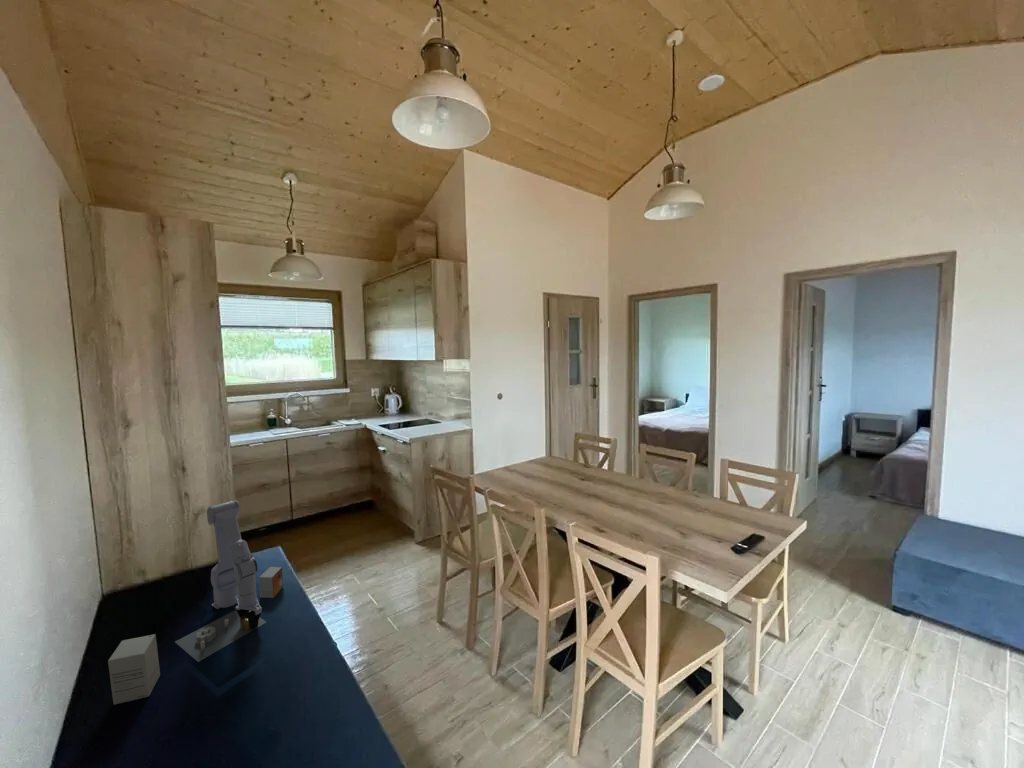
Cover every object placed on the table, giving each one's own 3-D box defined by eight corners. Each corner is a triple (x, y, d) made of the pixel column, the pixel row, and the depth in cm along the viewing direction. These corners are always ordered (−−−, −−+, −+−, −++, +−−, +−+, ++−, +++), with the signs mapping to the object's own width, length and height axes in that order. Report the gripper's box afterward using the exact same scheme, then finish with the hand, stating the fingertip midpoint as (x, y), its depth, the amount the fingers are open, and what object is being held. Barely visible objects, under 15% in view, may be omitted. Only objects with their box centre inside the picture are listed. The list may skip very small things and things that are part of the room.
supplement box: (126, 682, 137) (121, 639, 134) (161, 674, 140) (156, 632, 138) (111, 705, 128) (106, 660, 126) (149, 697, 131) (144, 653, 129)
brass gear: (237, 627, 160) (236, 617, 159) (253, 618, 165) (252, 608, 164) (245, 632, 157) (245, 622, 156) (261, 623, 162) (260, 614, 161)
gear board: (174, 645, 152) (173, 634, 151) (242, 609, 172) (242, 599, 171) (198, 666, 144) (197, 653, 143) (267, 625, 163) (266, 614, 162)
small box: (273, 601, 177) (271, 577, 176) (259, 600, 177) (258, 577, 176) (283, 589, 185) (282, 566, 184) (271, 589, 185) (269, 566, 184)
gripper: (225, 590, 159) (227, 623, 161) (246, 603, 152) (249, 638, 154) (245, 580, 165) (247, 612, 167) (266, 593, 158) (268, 627, 160)
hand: (249, 624), depth 161 cm, fingers closed on brass gear, 6 cm apart
